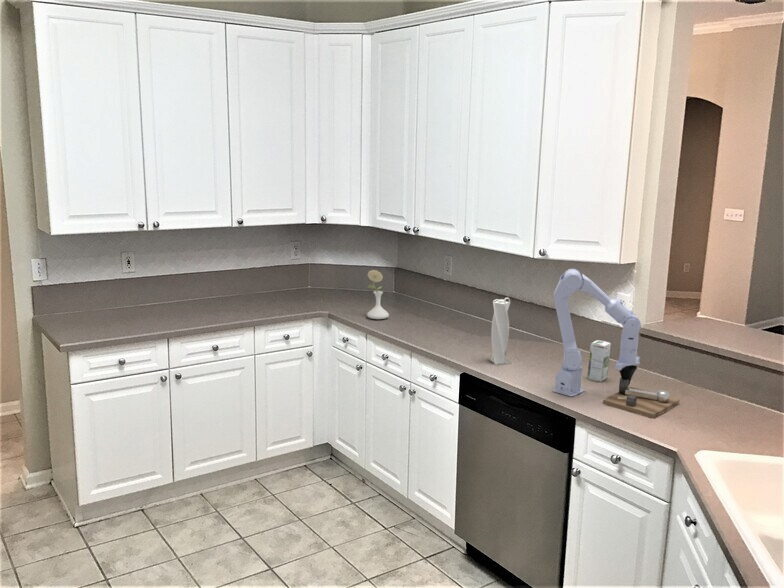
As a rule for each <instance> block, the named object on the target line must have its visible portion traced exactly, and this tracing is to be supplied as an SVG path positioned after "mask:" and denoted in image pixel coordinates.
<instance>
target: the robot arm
mask: <svg viewBox="0 0 784 588" xmlns="http://www.w3.org/2000/svg"><path fill="white" fill-rule="evenodd" d="M577 290H579V291H580V292H587V293H589V294H590V295H591V296H592V297H594V298H595V299H596V300H597V301H598V302H600V303H601V304H602V305H603V306H604V312H605V313H606V314H608V315H609V316H610V317H611V318H612V319H613V320H614V321H615V322H617V323H618V324H619V325H622V331H621V336H620V347H619V349H620V350H619V359H618V360H617V363H615V364H614V370H617V371H619V374H620V378H627V379H629V384H628V387H630V384H631V380H632V379H633V375H634V373H635V372H636V371H637V369H638V365H641V363H640V359H641V356H638V346H639V337H640V336H639V333H640V330H641V329H642V324H641V320H640V319H639V318H638V316H637V315H636V314H635V313H634V311H633V310H629V308H627V306H625V305H624V302H623V301H622V300H620V299H619V300H618V299H616V298H610V297H609V296H608V295H607V294H606V293H605V292H604V291H603V290H602V289H601V288H600V287H599V286H598V285H597V284H596V283H595V282H593V280H592V279H590V278H589V277H587V276H586V275H585V274H584V273H582V274H581V272H580V270H578V269H576V268H569V269H567V270H565V271H564V273H562V275H560V277H559V281H558V282H557V285H556V287H555V289H554V292H553V300H554V307H555V311H556V315H557V320H558V325H559V330H560V335H561V339H562V345H563V353H562V355H563V362H562V363H561V368H560V370H559V371H557V373H556V375H555V385H554V389H552V392H553V393H554V392H555V393H558V394H561V395H563V396H567V397H575V396H577V395H579V394H581V393H584V392H586V389H584V388H582V386H581V385H582V374H583V366H582V365H583V358H582V352H581V350H580V349H579V347H578V346H577V342H576V337H575V333H574V327H573V321H572V317H571V312H570V307H569V306H570V305H569V301H568V299H569V298H570V297H571V295H572V294H573V293H574V292H576V291H577Z"/></svg>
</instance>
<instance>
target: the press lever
mask: <svg viewBox="0 0 784 588" xmlns="http://www.w3.org/2000/svg"><path fill="white" fill-rule="evenodd" d="M628 384H629V379H627V378H621V377H620V378H619V384H618V392H619V393H621V394H627V395H633V396H638V397H644V398H649V399H655V400H657V401H659V402H668V401H669V397H670V392H669V390H663V389H658V390H656V392H653V391H649V392H648V390H645V391H642V390H643V389H642V390H636V389H631V388H628V387H629V386H628ZM629 385H630V384H629Z"/></svg>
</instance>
